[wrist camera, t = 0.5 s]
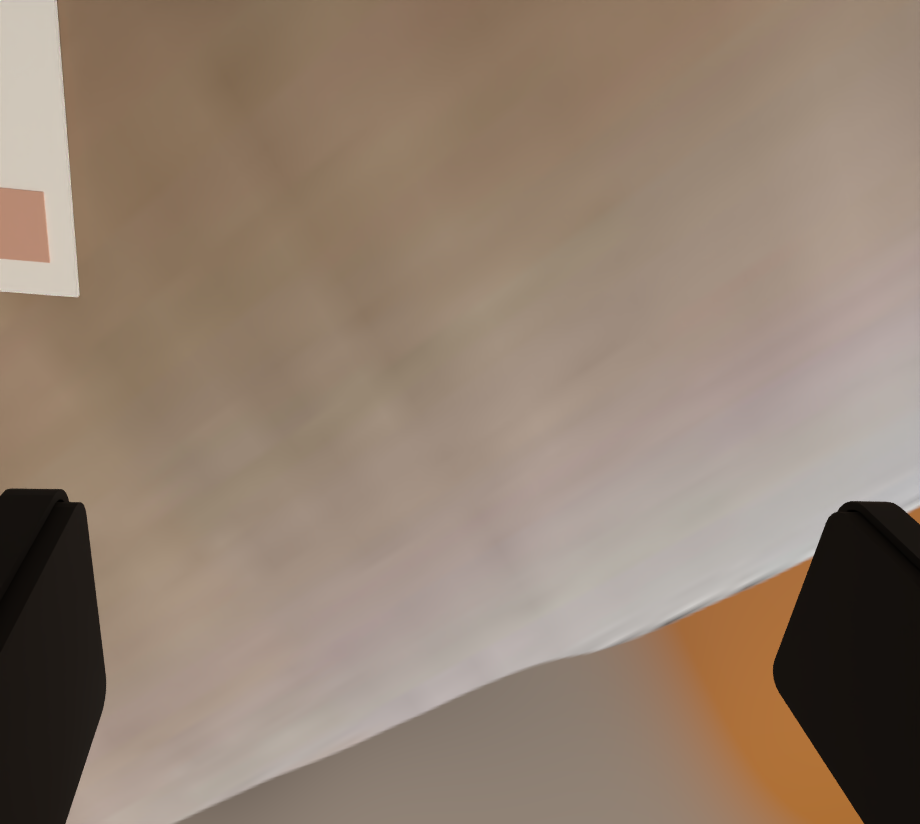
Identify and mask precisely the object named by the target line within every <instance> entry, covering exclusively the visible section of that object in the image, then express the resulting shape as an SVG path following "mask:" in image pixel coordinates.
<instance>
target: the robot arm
mask: <svg viewBox="0 0 920 824" xmlns="http://www.w3.org/2000/svg"><path fill="white" fill-rule="evenodd" d="M773 676H774V681H775V684H776V687H777V689H778V691H779V693H780V695H781V696H782V698H783V699H784V701H785V702H786V704H787V705H788V707H789V708H790V710H791V712H792V713H793V715H794V716H795V718H796V719H797V721H798V722H799V724H800V725H801V727H802V728H803V730H804V732H805V733H806V735H807V736H808V738H809V739H810V741H811V742H812V744H813V745H814V747H815V749H816V750H817V751H818V753H819V755H820V756H821V758H822V759H823V761H824V762H825V764H826V765H827V767H828V769H829V770H830V772H831V773H832V775H833V776H834V778H835V779H836V781H837V782H838V784H839V786H840V787H841V789H842V790H843V792H844V793H845V795H846V796H847V798H848V799H849V801H850V802H851V804H852V806H853V807H854V809H855V810H856V812H857V813H858V815H859V816H860V818H861V819H862V821H863V823H864V824H920V524H919V523H917V522H916V521H915V520H914V519H913V518H912V517H911V516H910V515H908V514H907V513H906V512H905V511H904V510H903V509H902V508H901V507H899V506H897V505H896V504H894V503H891V502H866V501H850V502H847V503H845V504H843V505H842V506H841V507H840V508H839V510H838V512H836V513H833V514H832V515H831V516H830V517H829V518H828V520H827V522H826V524H825V527H824V530H823V532H822V535H821V538H820V540H819V543H818V546H817V548H816V551H815V554H814V556H813V559H812V562H811V564H810V567H809V570H808V572H807V575H806V578H805V581H804V583H803V586H802V589H801V591H800V594H799V596H798V599H797V602H796V605H795V607H794V610H793V613H792V615H791V618H790V621H789V623H788V626H787V629H786V631H785V634H784V637H783V639H782V642H781V645H780V647H779V650H778V653H777V655H776V658H775V661H774V665H773ZM105 694H106V674H105V665H104V657H103V649H102V640H101V632H100V624H99V615H98V607H97V599H96V590H95V582H94V574H93V565H92V557H91V549H90V540H89V532H88V524H87V515H86V510H85V507H84V505H83V504H82V503H81V502H69V500H68V496H67V494H66V492H65V491H64V490H62V489H7V490H5V491H4V492H3V493H2V495H1V496H0V824H65V823H66V820H67V817H68V814H69V811H70V808H71V805H72V802H73V799H74V796H75V793H76V790H77V787H78V784H79V781H80V778H81V774H82V771H83V768H84V765H85V762H86V759H87V756H88V753H89V750H90V747H91V744H92V741H93V738H94V735H95V732H96V729H97V726H98V723H99V720H100V717H101V714H102V710H103V706H104V701H105Z"/></svg>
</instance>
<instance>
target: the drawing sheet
mask: <svg viewBox="0 0 920 824" xmlns="http://www.w3.org/2000/svg"><path fill="white" fill-rule="evenodd" d="M0 291H3V292H15V293H28V294H41V295H54V296H67V297H78V296H79V295H80V294H79V281H78V269H77V256H76V243H75V230H74V217H73V204H72V191H71V178H70V166H69V153H68V140H67V127H66V114H65V101H64V88H63V76H62V63H61V50H60V37H59V24H58V11H57V0H0Z"/></svg>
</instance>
